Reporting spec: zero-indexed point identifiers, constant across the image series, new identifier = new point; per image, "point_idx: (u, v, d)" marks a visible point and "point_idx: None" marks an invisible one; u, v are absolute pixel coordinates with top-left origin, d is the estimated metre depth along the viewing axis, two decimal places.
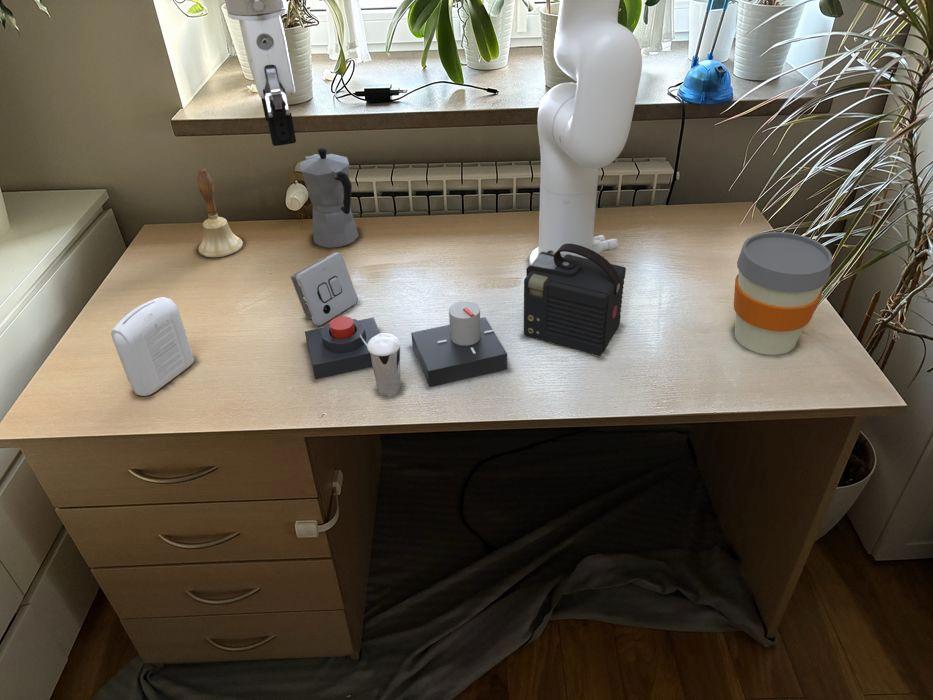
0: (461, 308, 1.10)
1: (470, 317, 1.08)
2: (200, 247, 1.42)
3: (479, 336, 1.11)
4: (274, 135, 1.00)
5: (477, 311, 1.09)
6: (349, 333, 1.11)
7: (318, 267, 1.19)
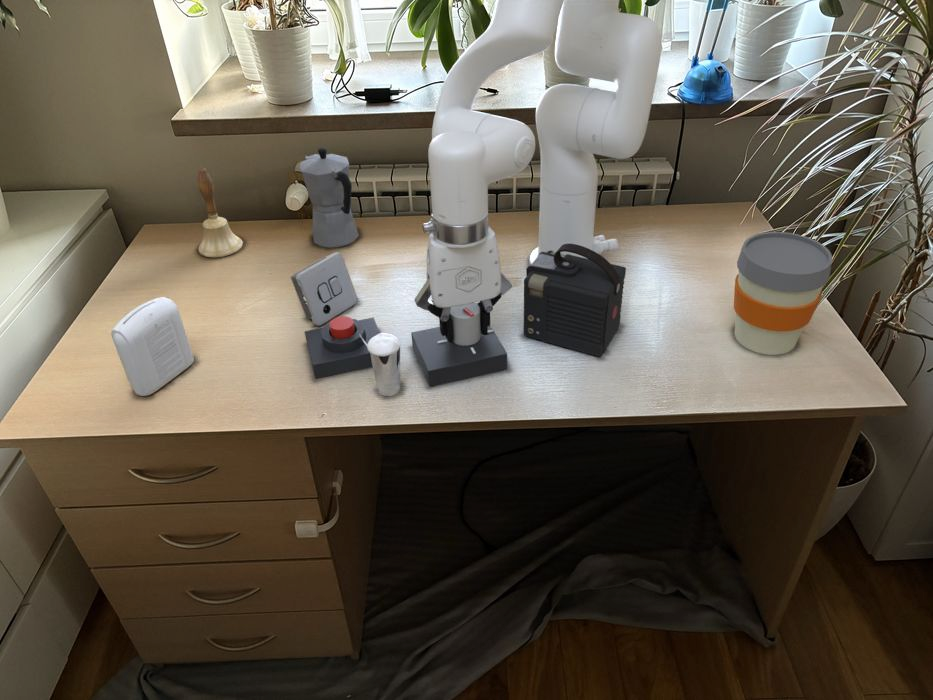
0: (461, 308, 1.10)
1: (470, 317, 1.08)
2: (200, 247, 1.42)
3: (479, 336, 1.11)
4: None
5: (477, 311, 1.09)
6: (349, 333, 1.11)
7: (318, 267, 1.19)
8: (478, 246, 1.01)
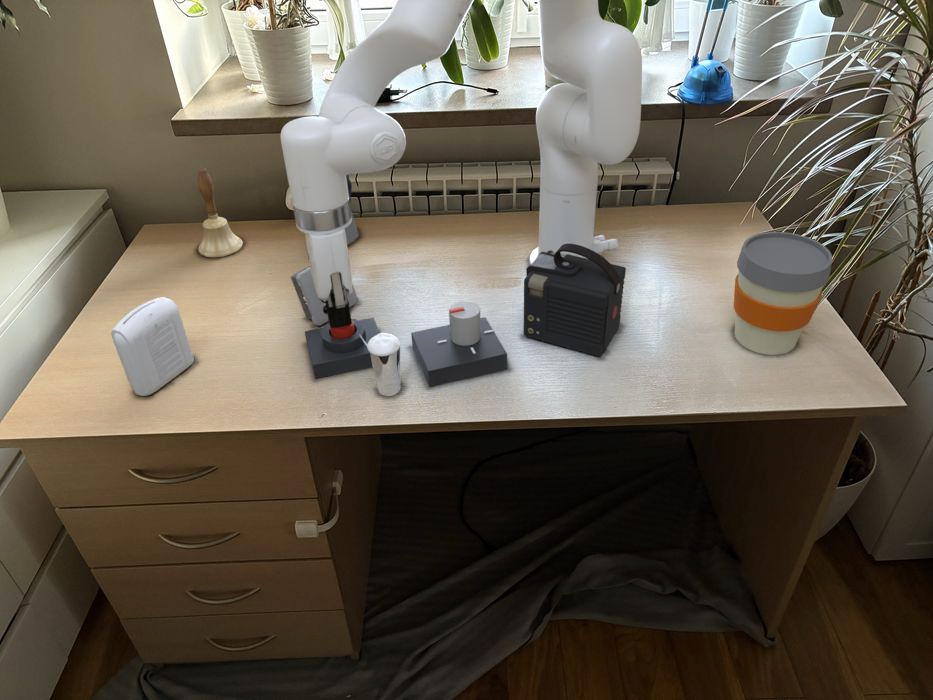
0: (466, 308, 1.10)
1: (449, 311, 1.09)
2: (200, 247, 1.42)
3: (456, 340, 1.11)
4: None
5: (456, 315, 1.08)
6: (349, 333, 1.11)
7: None
8: (307, 235, 1.00)
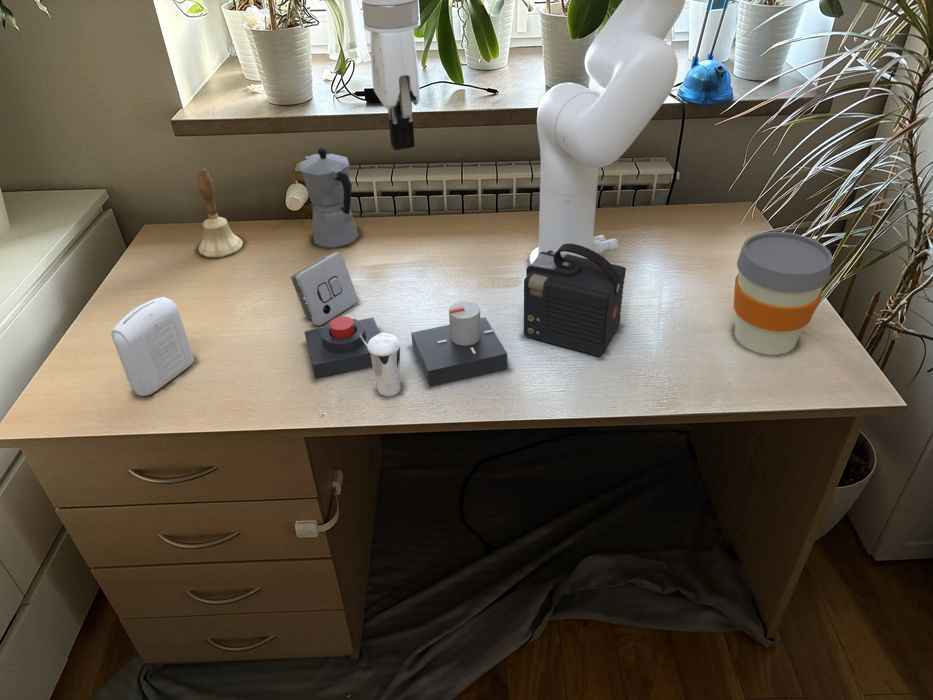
0: (466, 308, 1.10)
1: (449, 311, 1.09)
2: (200, 247, 1.42)
3: (456, 340, 1.11)
4: None
5: (456, 315, 1.08)
6: (349, 333, 1.11)
7: (318, 267, 1.19)
8: (375, 36, 0.99)
